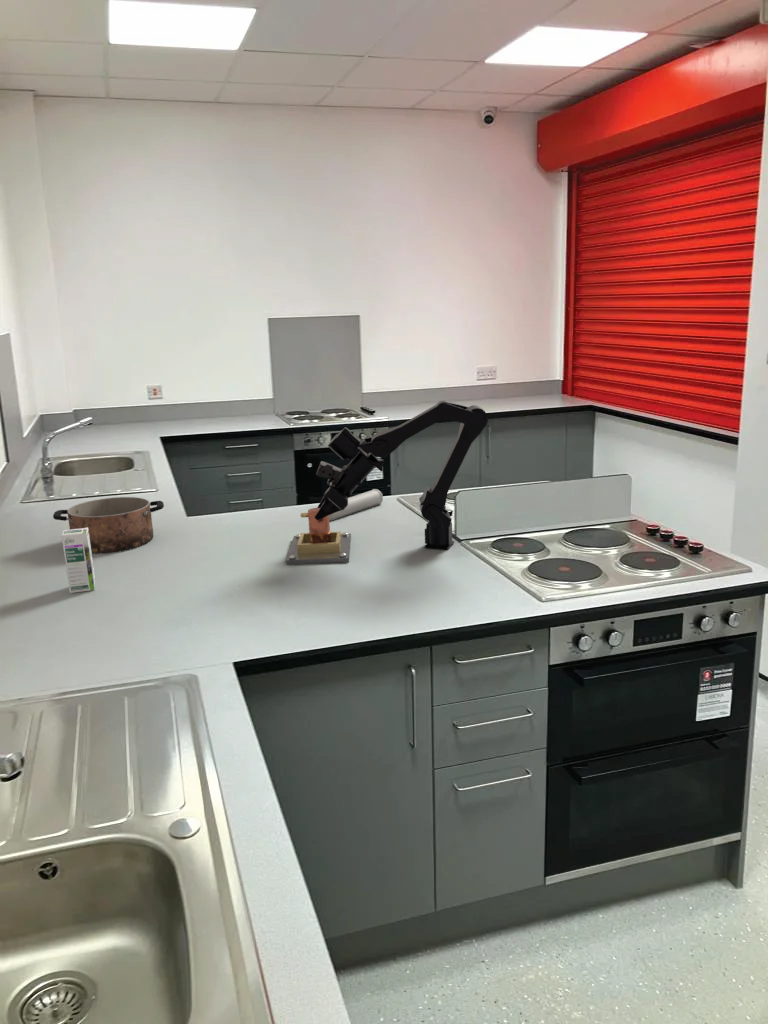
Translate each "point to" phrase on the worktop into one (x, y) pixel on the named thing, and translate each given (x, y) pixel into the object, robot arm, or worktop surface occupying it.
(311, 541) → the copper cylinder
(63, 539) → the syrup box
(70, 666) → the worktop surface
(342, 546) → the gray mounting plate
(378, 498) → the tube
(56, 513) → the cooking pot
